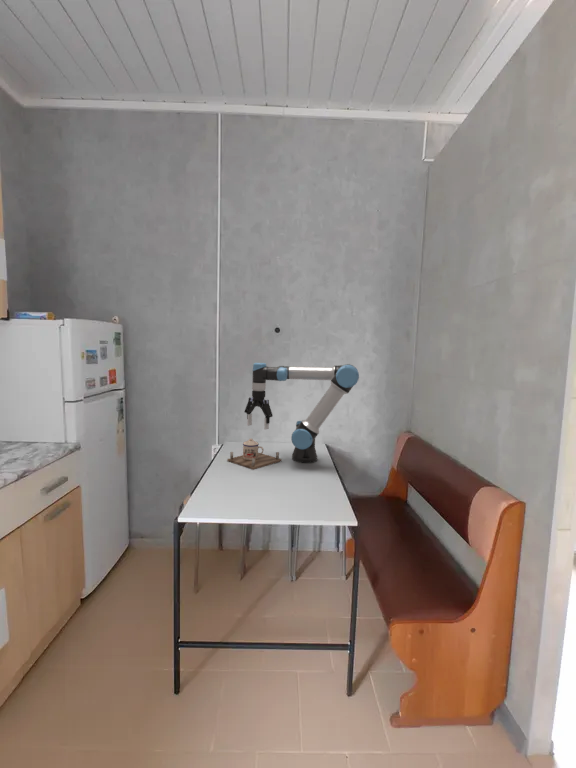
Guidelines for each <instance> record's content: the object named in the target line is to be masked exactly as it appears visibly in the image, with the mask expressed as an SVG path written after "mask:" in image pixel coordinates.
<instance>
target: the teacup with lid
mask: <svg viewBox="0 0 576 768" xmlns="http://www.w3.org/2000/svg"><path fill="white" fill-rule="evenodd" d="M259 445H260V444H259V442H257V441H255V440H253V438H249V439H248V440H247V441H244V442H243V443H242V446H243V447H242V455H243V459H245V460H252V459H255V460H256V459H258V455H261V454H264V448H263V446H259ZM259 449H261V452H259ZM258 453H260V454H258Z"/></svg>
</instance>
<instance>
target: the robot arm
mask: <svg viewBox="0 0 576 768" xmlns="http://www.w3.org/2000/svg"><path fill="white" fill-rule="evenodd" d="M359 378H360V374H359V371H358V369H357V367H355V366H354V365H353V364H350V363H349V364H343V365H342V364H341V365H333V366H294V365H293V366H288V365H287V366H285V365H279V366H267V363H266V362H254V363H253V364H252V384H251V385H252V386H251V387H252V388H251V389H252V391H251V397H249V398H248V401H247V404H246V406H245V409H244V413H246V420H247V422H246V423H247V427H249V426H252V425H253V423H252V422H253V413H252V412H253V411H254V410H255V409H256V407H258V408H260V409H261V411H262V413H263V415H264V425H263V429H264V430H269V428H270V427H269V426H270V425H269V424H270V422H271V421H270V419H271V418H272V417H273V412H272V409H271V406H270V400H269V399H265V397H266V386H267V384H266V382H267V381H275V382H276V381H279V382H285V381H287V380H308V381H309V380H310V381H330V386H329V387H328V389H327V390H326V391H325V392H324V394H323V396H322V397H321V398H320V400H319V401H318V403H317V404H316V405H315V407H314V408H313V409H312V411H311V412H310V414H309V415H308V416H307V418H306V419H302V420H297V421H296V424H295V429H294V431H293V432H292V434H291V442H292V444H293V446H294V449H293V452H292V453H291V459H292V461H294V462H298V463H305V464H308V463H314V462H317V461H318V454H317V450H316V438H317V436H318V435H319V434H320V430H319V429H320V427H321V426H322V425H323V423H325V421H326V419H328V417H329V415H330V414H331V412H332V411H333V410H334V409H335V407H336V406H337V404H338V403H339V402H340V400H341V399H342V398H343V396H344V395H346V394H349V393H350V391H351V390H352V389H353V387H354V386H355V385H357V383H358V382H359Z"/></svg>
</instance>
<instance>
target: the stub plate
mask: <svg viewBox="0 0 576 768" xmlns="http://www.w3.org/2000/svg"><path fill="white" fill-rule="evenodd" d="M260 453H261V452H258V454H260ZM275 453H276V455H275V457H274V456H271V455H267V454H265V453H262V454H261V455H258V459H256V460H255V459H252V460H245V459H243V454H241V455H239V456H235V457H234V452H233V451H230V456H229V457H230V458H227V460H226V461H227V462H229V463H232V464H235V465H238V466H240V467H244V468H246V469H250V470H252V471H253V470H257V469H260V468H263V467H267V466H271V465H274V464H276V463H277V464H278V463H280V461H281V462H282V461H283V460H282V459H281V458H280V452H279V451H277V452H275ZM273 463H274V464H273Z"/></svg>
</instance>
